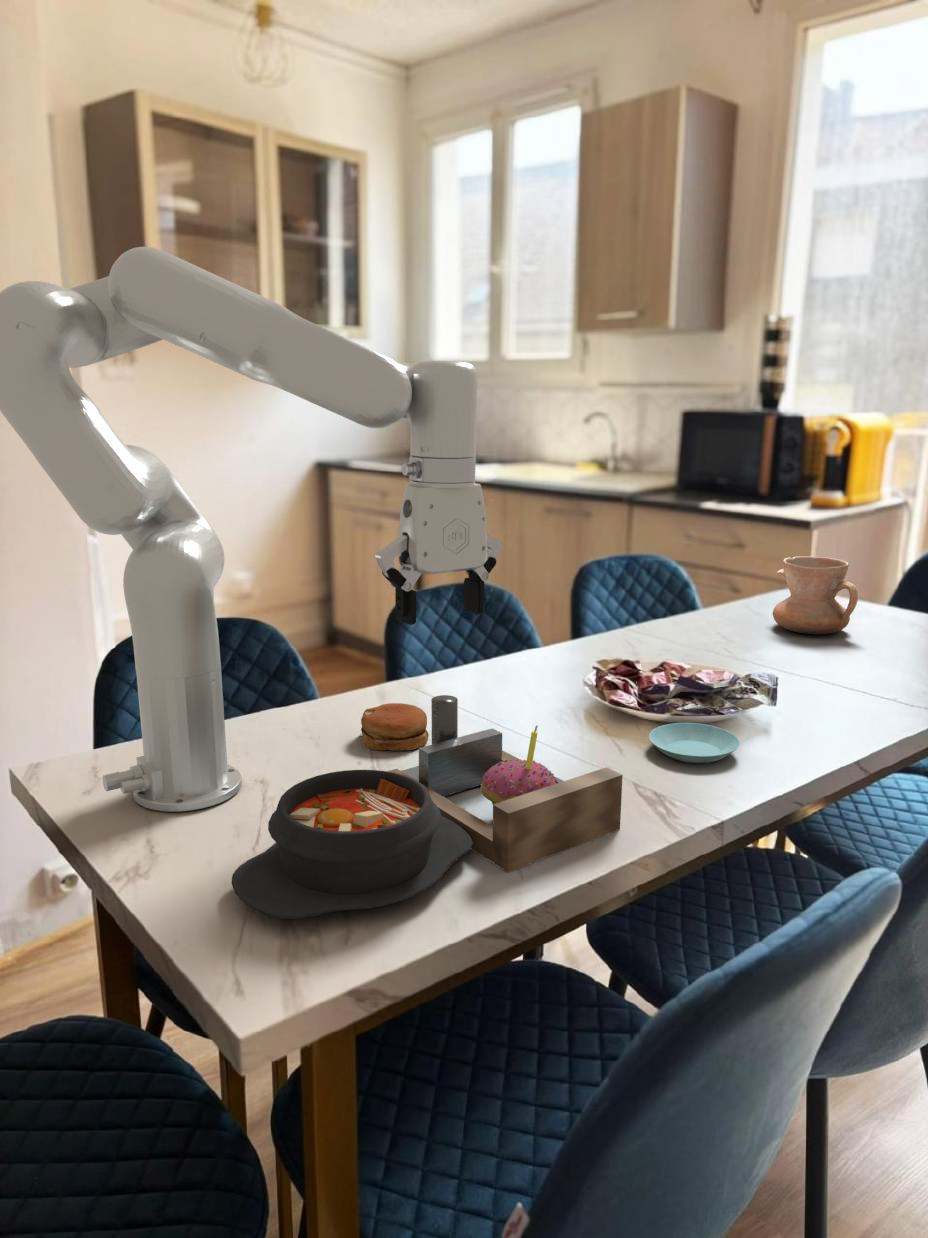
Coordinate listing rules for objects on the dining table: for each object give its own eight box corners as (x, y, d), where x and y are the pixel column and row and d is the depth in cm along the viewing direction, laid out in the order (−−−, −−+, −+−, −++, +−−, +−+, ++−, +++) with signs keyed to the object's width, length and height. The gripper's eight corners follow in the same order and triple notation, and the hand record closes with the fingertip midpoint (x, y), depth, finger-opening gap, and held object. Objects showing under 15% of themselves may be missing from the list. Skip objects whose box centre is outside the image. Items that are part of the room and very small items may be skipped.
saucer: (691, 779, 116) (693, 762, 116) (629, 748, 126) (630, 732, 126) (757, 759, 122) (758, 743, 122) (693, 731, 132) (694, 716, 132)
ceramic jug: (751, 626, 189) (756, 557, 186) (797, 617, 197) (803, 551, 193) (827, 646, 175) (834, 572, 171) (873, 636, 182) (881, 564, 179)
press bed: (507, 872, 93) (508, 813, 92) (383, 790, 112) (382, 740, 111) (619, 829, 103) (622, 774, 101) (487, 760, 121) (488, 713, 120)
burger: (437, 749, 125) (436, 716, 124) (369, 758, 122) (368, 724, 121) (417, 725, 134) (416, 694, 133) (354, 732, 132) (353, 701, 130)
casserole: (405, 809, 108) (404, 741, 106) (511, 872, 94) (512, 796, 92) (200, 878, 92) (194, 801, 90) (291, 967, 78) (287, 877, 76)
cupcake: (568, 816, 106) (572, 717, 103) (535, 847, 99) (538, 741, 96) (502, 799, 110) (503, 704, 107) (466, 828, 103) (466, 726, 100)
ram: (428, 801, 109) (427, 719, 106) (396, 781, 114) (395, 702, 112) (501, 778, 115) (502, 700, 113) (468, 760, 120) (468, 685, 118)
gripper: (396, 478, 98) (395, 633, 102) (521, 472, 108) (516, 614, 112) (360, 472, 104) (361, 619, 108) (482, 467, 114) (479, 602, 118)
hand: (440, 616), depth 110 cm, fingers open, 9 cm apart
